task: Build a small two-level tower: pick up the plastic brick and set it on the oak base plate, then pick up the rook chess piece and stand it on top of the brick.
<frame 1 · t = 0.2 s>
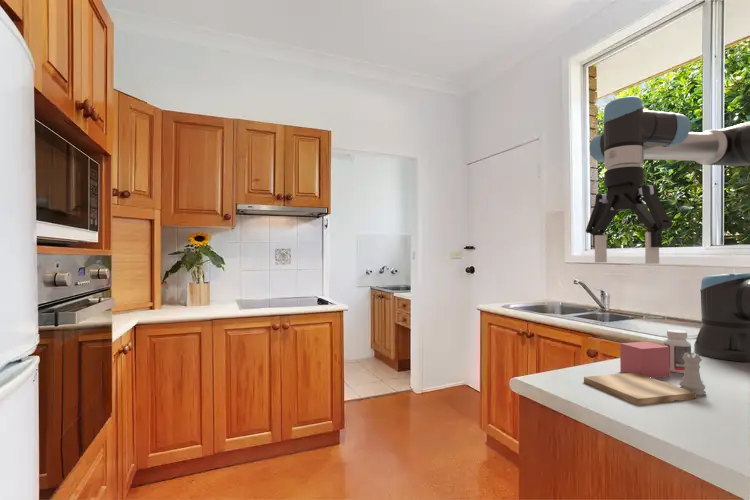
hand: (624, 263, 89), 27 cm above the countertop, tool pointing down, fingers open, 13 cm apart
base plate: (636, 389, 85), on the countertop
pill bottle: (677, 371, 98), on the countertop
rook chess piece: (692, 393, 83), on the countertop
brick: (644, 374, 96), on the countertop
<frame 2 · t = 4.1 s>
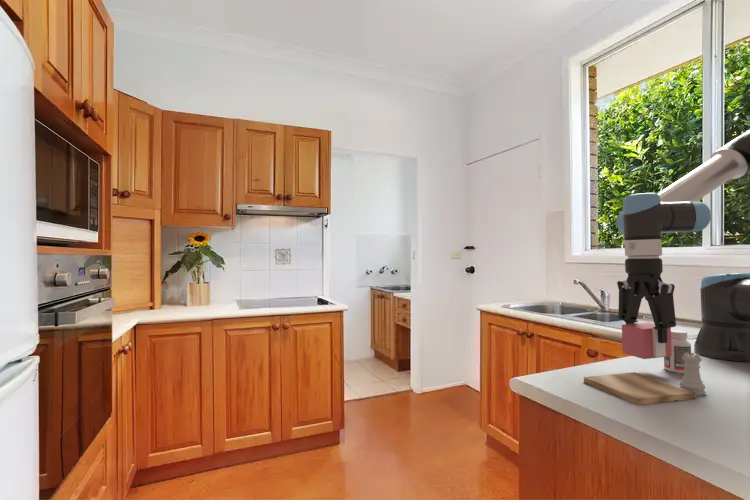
hand: (646, 352, 96), 5 cm above the countertop, tool pointing down, fingers closed on brick, 6 cm apart
brick: (646, 354, 96), point 5 cm above the countertop, touching gripper
everything else where it was.
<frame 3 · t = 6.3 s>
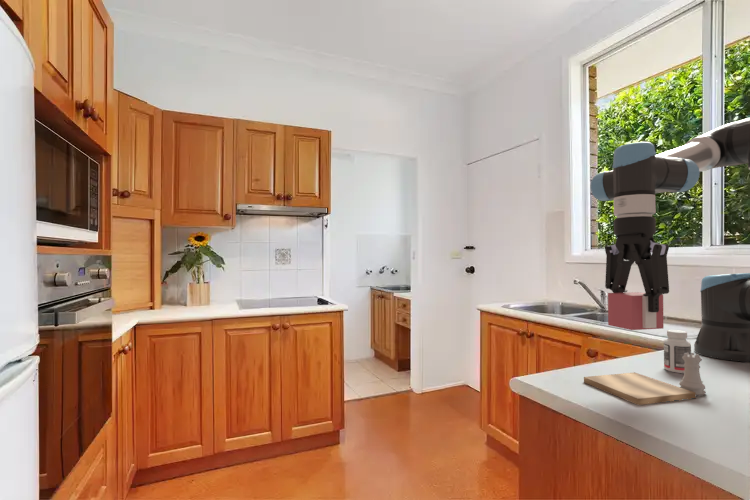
hand: (635, 324, 85), 14 cm above the countertop, tool pointing down, fingers closed on brick, 6 cm apart
brick: (635, 326, 85), point 13 cm above the countertop, touching gripper
everything else where it was.
when the fingers open (2 cm above the countertop, at t = 8.6 s): brick stays where it is, resting on base plate.
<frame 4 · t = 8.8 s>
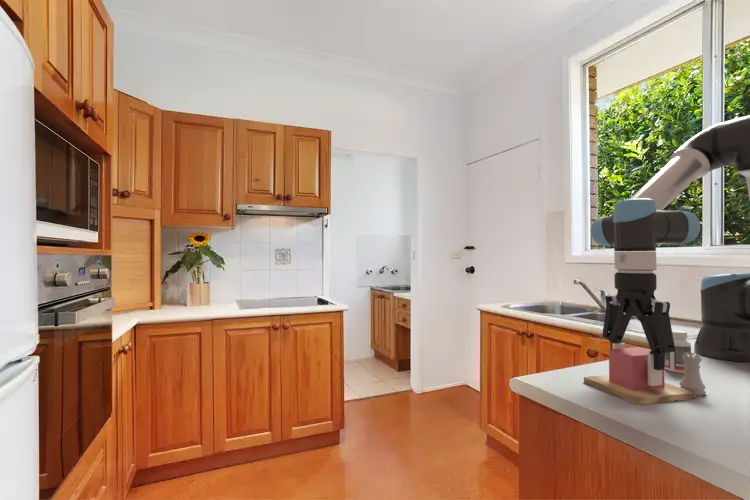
hand: (636, 378, 85), 2 cm above the countertop, tool pointing down, fingers open, 8 cm apart
brick: (636, 384, 85), point 1 cm above the countertop, touching base plate
everything else where it was.
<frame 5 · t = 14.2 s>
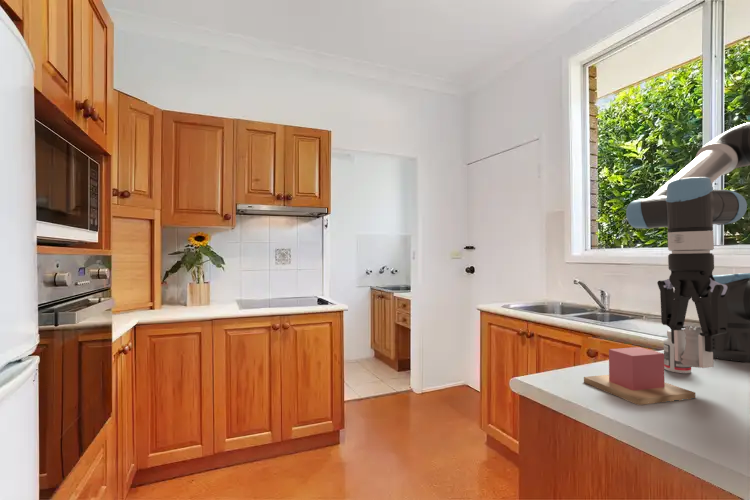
hand: (693, 363, 83), 6 cm above the countertop, tool pointing down, fingers closed on rook chess piece, 4 cm apart
rook chess piece: (694, 365, 83), point 5 cm above the countertop, touching gripper
everything else where it was.
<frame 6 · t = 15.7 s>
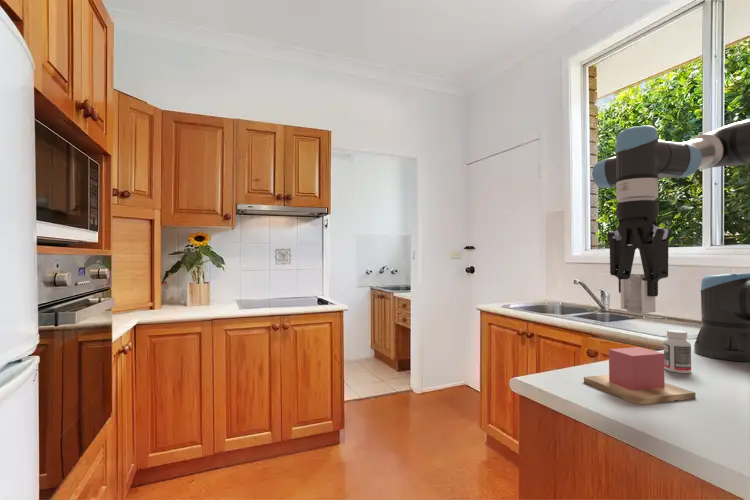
hand: (637, 310, 85), 17 cm above the countertop, tool pointing down, fingers closed on rook chess piece, 4 cm apart
rook chess piece: (638, 312, 85), point 16 cm above the countertop, touching gripper
everything else where it was.
when the fingers open (9 cm above the countertop, at t = 17.4 s): rook chess piece stays where it is, resting on brick.
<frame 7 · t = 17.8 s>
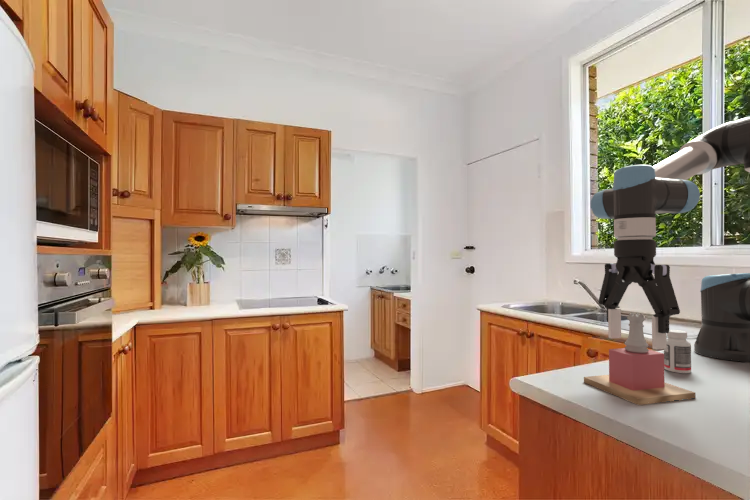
hand: (635, 342, 85), 10 cm above the countertop, tool pointing down, fingers open, 10 cm apart
rook chess piece: (636, 352, 85), point 8 cm above the countertop, touching brick
brick: (636, 384, 85), point 1 cm above the countertop, touching base plate, rook chess piece
everything else where it was.
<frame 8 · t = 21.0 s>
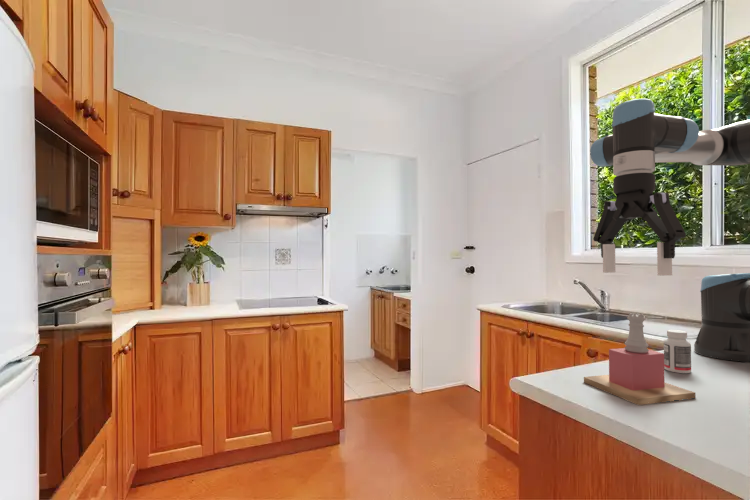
hand: (634, 274, 85), 25 cm above the countertop, tool pointing down, fingers open, 13 cm apart
nothing on the countertop moved.
at the end: brick inside the target area on the base plate (0.0 cm from its centre), point 1.2 cm above the base plate's base; rook chess piece 0.2 cm off-centre on the brick, point 6.8 cm above the brick's base; rook chess piece tilted 0° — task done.
